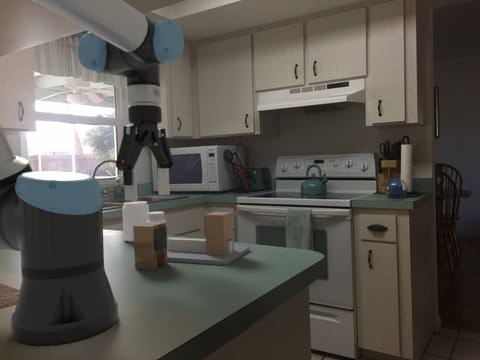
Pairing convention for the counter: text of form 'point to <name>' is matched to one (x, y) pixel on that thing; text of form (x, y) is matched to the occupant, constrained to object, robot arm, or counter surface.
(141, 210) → the white piece
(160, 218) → the pill bottle
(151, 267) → the notched tan block
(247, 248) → the rail
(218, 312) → the counter surface
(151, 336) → the counter surface
